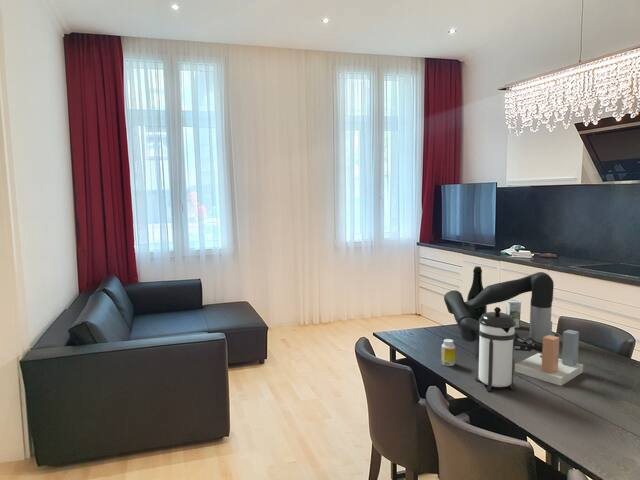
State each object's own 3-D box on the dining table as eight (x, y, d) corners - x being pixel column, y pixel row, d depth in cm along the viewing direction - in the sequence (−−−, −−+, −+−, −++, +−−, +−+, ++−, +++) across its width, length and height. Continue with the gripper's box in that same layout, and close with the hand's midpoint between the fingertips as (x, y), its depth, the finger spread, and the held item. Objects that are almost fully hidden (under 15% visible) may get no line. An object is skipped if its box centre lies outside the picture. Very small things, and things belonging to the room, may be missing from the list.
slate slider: (561, 363, 182) (563, 332, 181) (567, 360, 185) (568, 329, 184) (572, 366, 179) (573, 334, 178) (577, 363, 182) (579, 331, 181)
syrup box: (516, 325, 245) (517, 299, 244) (520, 328, 239) (521, 301, 238) (505, 325, 246) (506, 299, 244) (509, 328, 240) (509, 301, 238)
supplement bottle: (457, 365, 190) (458, 341, 189) (447, 367, 188) (448, 343, 187) (448, 360, 195) (449, 337, 194) (438, 362, 193) (438, 339, 192)
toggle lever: (541, 352, 189) (552, 333, 185) (544, 350, 191) (555, 331, 187) (547, 356, 188) (558, 337, 183) (550, 354, 189) (561, 335, 185)
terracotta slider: (541, 370, 176) (542, 337, 174) (547, 366, 179) (548, 334, 177) (552, 373, 172) (553, 340, 171) (557, 369, 176) (559, 337, 174)
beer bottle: (462, 327, 243) (463, 266, 239) (472, 323, 250) (473, 264, 246) (480, 331, 235) (482, 268, 232) (490, 327, 242) (491, 266, 239)
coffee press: (523, 383, 171) (526, 306, 168) (507, 397, 160) (510, 314, 156) (479, 371, 183) (481, 299, 180) (461, 383, 171) (463, 306, 168)
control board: (514, 371, 183) (514, 362, 182) (537, 359, 195) (538, 351, 195) (560, 385, 169) (561, 376, 168) (582, 372, 181) (583, 363, 181)
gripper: (511, 344, 194) (552, 355, 181) (494, 350, 186) (536, 363, 172) (511, 327, 193) (553, 336, 180) (495, 333, 185) (537, 344, 172)
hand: (545, 349), depth 176 cm, fingers closed
